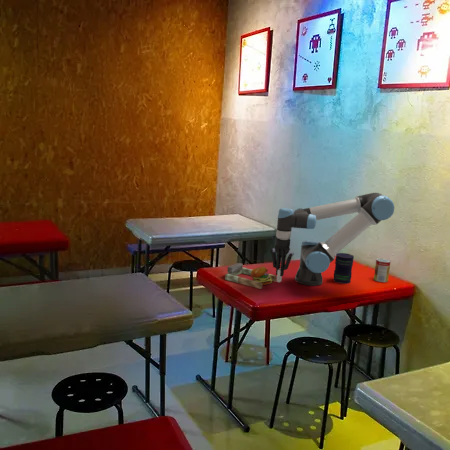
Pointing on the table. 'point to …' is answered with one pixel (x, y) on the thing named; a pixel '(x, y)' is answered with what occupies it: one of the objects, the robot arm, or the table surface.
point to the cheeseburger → (261, 275)
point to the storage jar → (343, 268)
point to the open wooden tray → (239, 269)
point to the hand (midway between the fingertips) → (278, 281)
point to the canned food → (382, 270)
